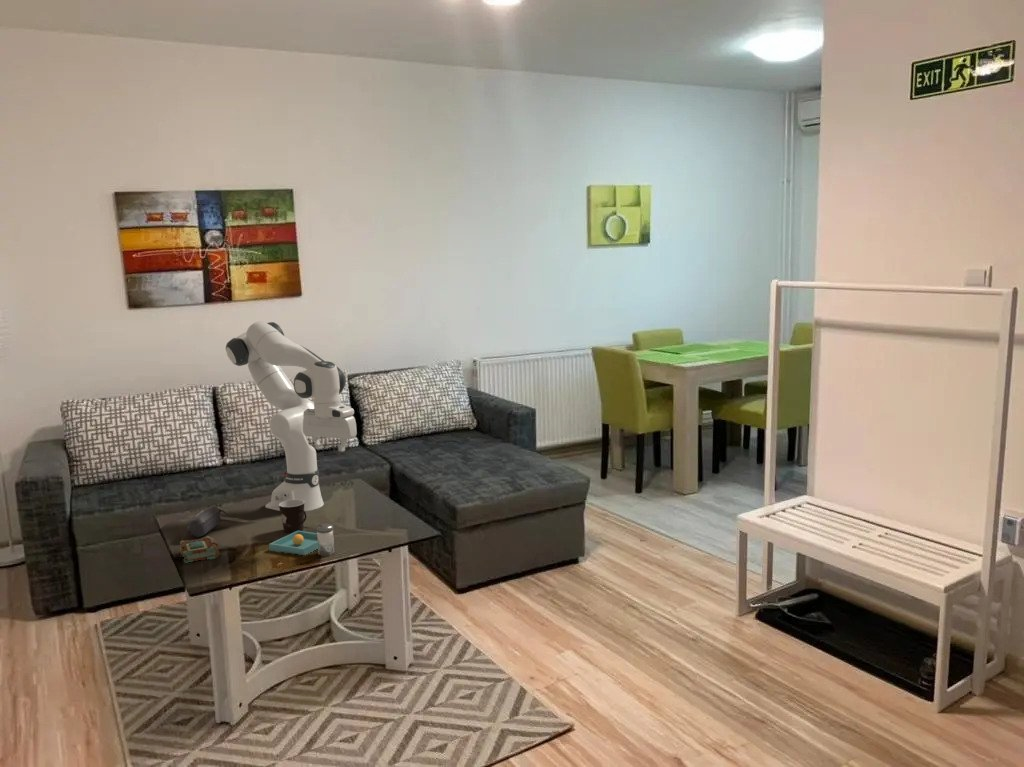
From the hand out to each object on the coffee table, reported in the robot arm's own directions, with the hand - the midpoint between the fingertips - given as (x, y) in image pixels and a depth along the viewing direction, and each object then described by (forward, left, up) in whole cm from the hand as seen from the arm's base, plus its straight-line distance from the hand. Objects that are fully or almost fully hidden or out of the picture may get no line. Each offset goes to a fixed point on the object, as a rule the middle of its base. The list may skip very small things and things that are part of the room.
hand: (330, 450), depth 278 cm
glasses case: (-43, -16, -29) cm, 55 cm away
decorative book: (-31, -33, -30) cm, 54 cm away
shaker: (+10, -18, -29) cm, 36 cm away
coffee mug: (-14, -5, -29) cm, 33 cm away
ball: (-2, -16, -28) cm, 32 cm away
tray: (-2, -16, -29) cm, 33 cm away
